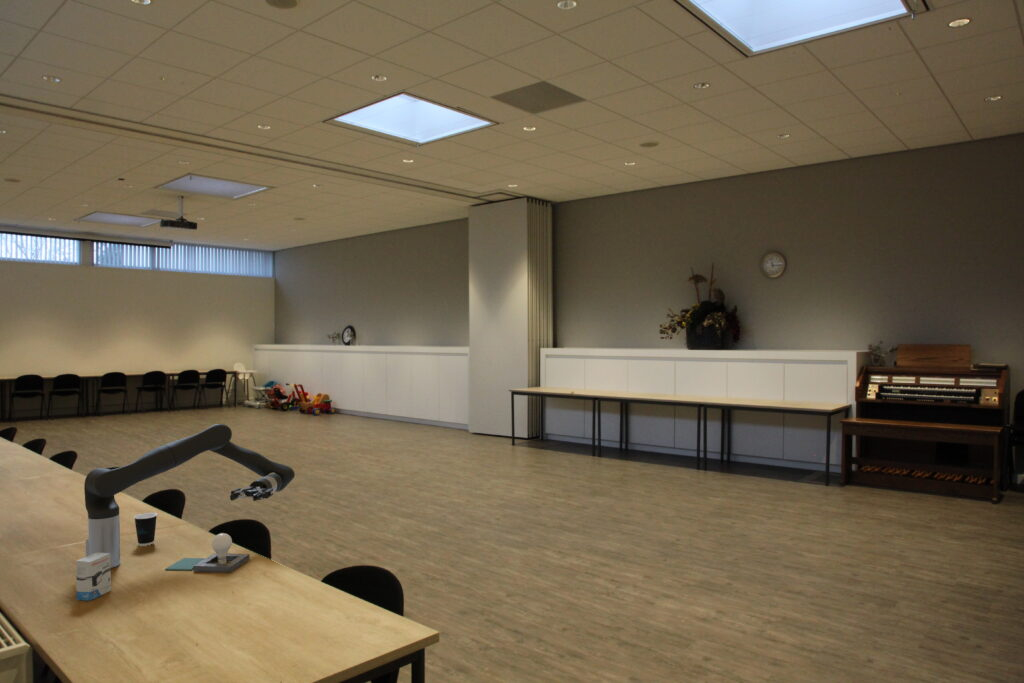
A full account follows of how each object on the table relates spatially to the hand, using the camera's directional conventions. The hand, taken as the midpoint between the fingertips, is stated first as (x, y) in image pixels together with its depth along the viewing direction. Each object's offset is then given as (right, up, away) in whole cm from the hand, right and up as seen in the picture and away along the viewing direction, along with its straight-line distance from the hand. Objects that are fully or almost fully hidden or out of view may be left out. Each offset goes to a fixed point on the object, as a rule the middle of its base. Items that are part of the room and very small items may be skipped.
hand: (242, 498), depth 248 cm
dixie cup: (-41, -20, +10) cm, 46 cm away
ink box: (-29, -21, -40) cm, 54 cm away
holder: (-1, -20, -15) cm, 25 cm away
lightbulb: (-1, -20, -15) cm, 25 cm away
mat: (-14, -20, -13) cm, 28 cm away
